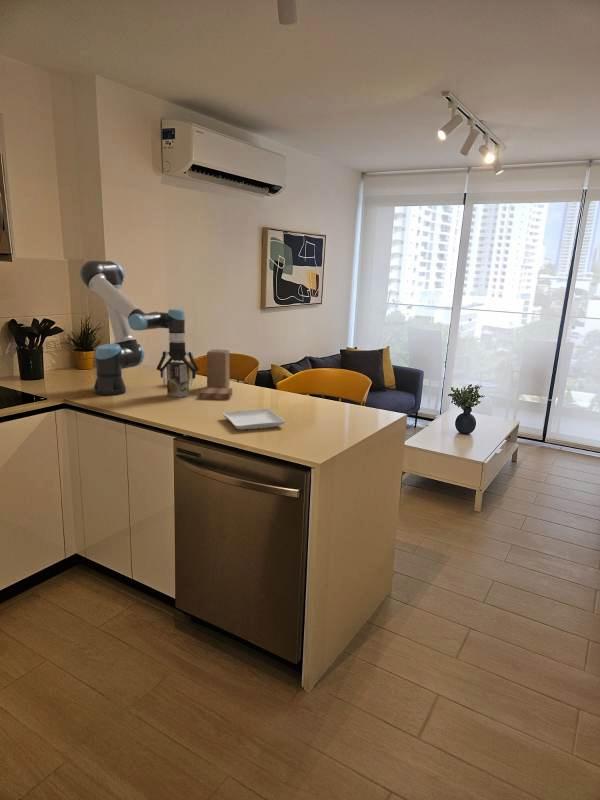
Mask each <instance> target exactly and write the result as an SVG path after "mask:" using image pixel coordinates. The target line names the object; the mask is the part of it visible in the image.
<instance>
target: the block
mask: <svg viewBox="0 0 600 800" xmlns="http://www.w3.org/2000/svg"><path fill="white" fill-rule="evenodd" d="M230 355H231V354H230V350H228V349H216V348H215V349H214V348H213V349H210V350H209V351H207V352H206V388H229V387H230V367H231V366H230Z"/></svg>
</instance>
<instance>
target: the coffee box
mask: <svg viewBox="0 0 600 800" xmlns="http://www.w3.org/2000/svg"><path fill="white" fill-rule="evenodd" d="M189 387H190V384H189V370H188V366H187V365H186V364H185V363H184V362H183V361H171V362H170V363H169V364H168V365H167V367H166V388H167V389H166V390H167V391H166V392H167V396H171V395H172V396H171V397H176V396H178V398H183V396H184V397H188V396H187V395H189V396H190V388H189Z"/></svg>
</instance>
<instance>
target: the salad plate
mask: <svg viewBox="0 0 600 800" xmlns="http://www.w3.org/2000/svg"><path fill="white" fill-rule="evenodd" d="M221 414H222V416H223V417H224V418H225V419H226V420H228V421H229V422H230V423H231V424H232V425H233V426H234V427H235V428H236V429H237V430H241V431H242V430H243V431H244V430H245V431H246V429H248V430H259V429H258V428H260V429H268V428H269V427H270V428H277V427H280V426H282V425H284V424H285V423H286V420H285V419H283V418H282V417H281V416H279V415H278V414H276V413H275V412H274V411H272V410H271V409H270V408H259V409H258V408H257V409H247V410H245V409H244V410H234V411H224V412H221Z"/></svg>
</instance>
